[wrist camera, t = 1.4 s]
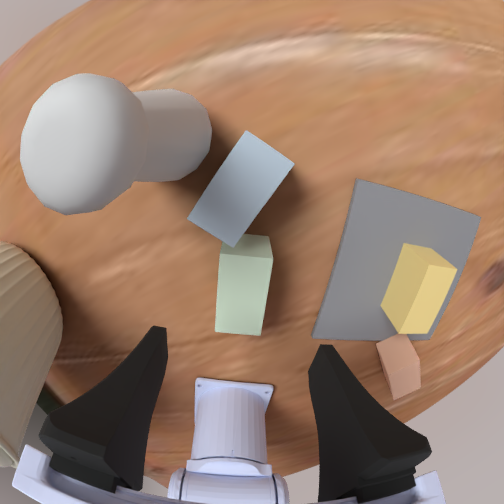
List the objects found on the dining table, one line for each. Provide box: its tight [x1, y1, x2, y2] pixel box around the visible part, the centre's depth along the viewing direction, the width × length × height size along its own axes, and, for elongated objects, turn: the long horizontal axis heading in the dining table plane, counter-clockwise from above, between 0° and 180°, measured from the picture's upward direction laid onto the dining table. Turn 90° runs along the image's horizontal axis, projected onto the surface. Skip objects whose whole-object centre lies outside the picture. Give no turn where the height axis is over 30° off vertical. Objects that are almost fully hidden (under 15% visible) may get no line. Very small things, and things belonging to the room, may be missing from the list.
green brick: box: [215, 234, 273, 336], centre depth 20 cm, size 6×3×4 cm, turn 173°
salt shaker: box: [20, 73, 212, 215], centre depth 12 cm, size 6×6×13 cm
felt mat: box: [311, 178, 481, 341], centre depth 22 cm, size 14×14×1 cm
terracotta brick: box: [376, 334, 421, 400], centre depth 24 cm, size 6×3×4 cm, turn 28°
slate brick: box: [187, 130, 294, 247], centre depth 17 cm, size 6×3×4 cm, turn 145°
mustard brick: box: [380, 243, 457, 334], centre depth 20 cm, size 6×3×4 cm, turn 171°
